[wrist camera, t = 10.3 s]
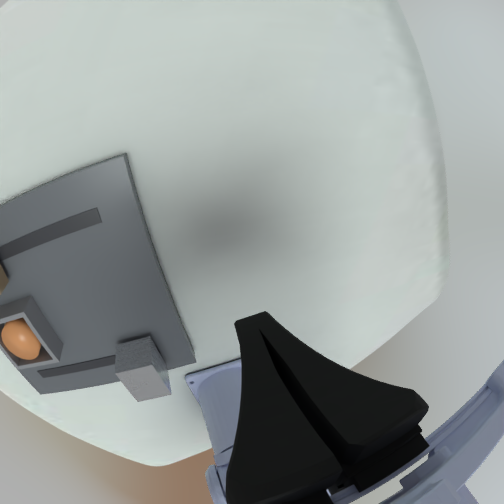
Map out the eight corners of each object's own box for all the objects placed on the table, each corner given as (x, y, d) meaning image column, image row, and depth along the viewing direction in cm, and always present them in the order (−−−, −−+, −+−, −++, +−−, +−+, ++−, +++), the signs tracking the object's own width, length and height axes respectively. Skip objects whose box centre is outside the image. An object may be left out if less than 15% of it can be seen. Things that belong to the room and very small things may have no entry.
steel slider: (167, 366, 22) (171, 394, 20) (136, 374, 22) (137, 401, 19) (150, 336, 20) (152, 364, 18) (116, 344, 20) (115, 373, 17)
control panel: (193, 350, 25) (200, 379, 22) (42, 383, 21) (38, 409, 18) (126, 153, 16) (119, 161, 13) (-52, 236, 12) (-72, 256, 9)
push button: (50, 342, 18) (47, 356, 16) (22, 349, 17) (18, 362, 16) (28, 308, 16) (22, 322, 14) (0, 317, 15) (-7, 330, 14)
